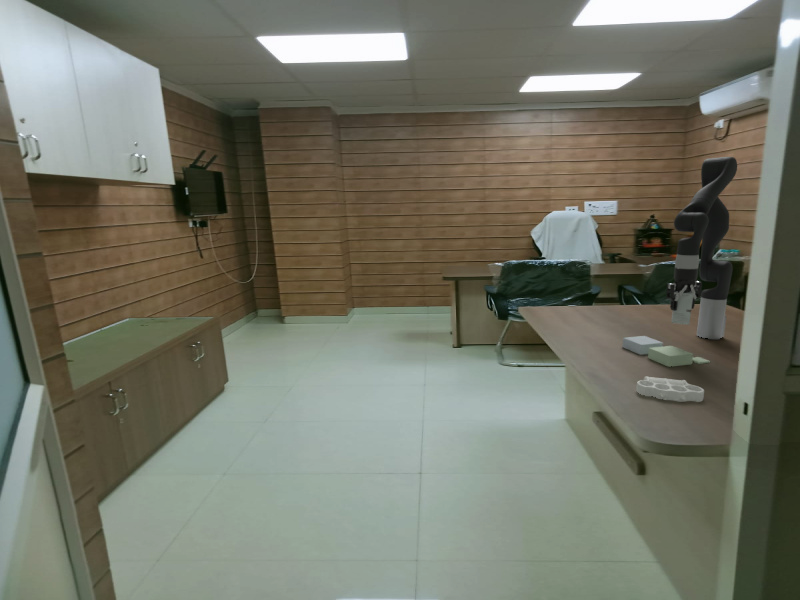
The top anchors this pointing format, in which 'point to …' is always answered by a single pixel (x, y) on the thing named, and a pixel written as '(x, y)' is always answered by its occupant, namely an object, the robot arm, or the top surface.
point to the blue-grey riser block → (640, 344)
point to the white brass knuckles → (669, 389)
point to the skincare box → (683, 309)
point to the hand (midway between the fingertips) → (682, 309)
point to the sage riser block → (670, 356)
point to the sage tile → (699, 360)
